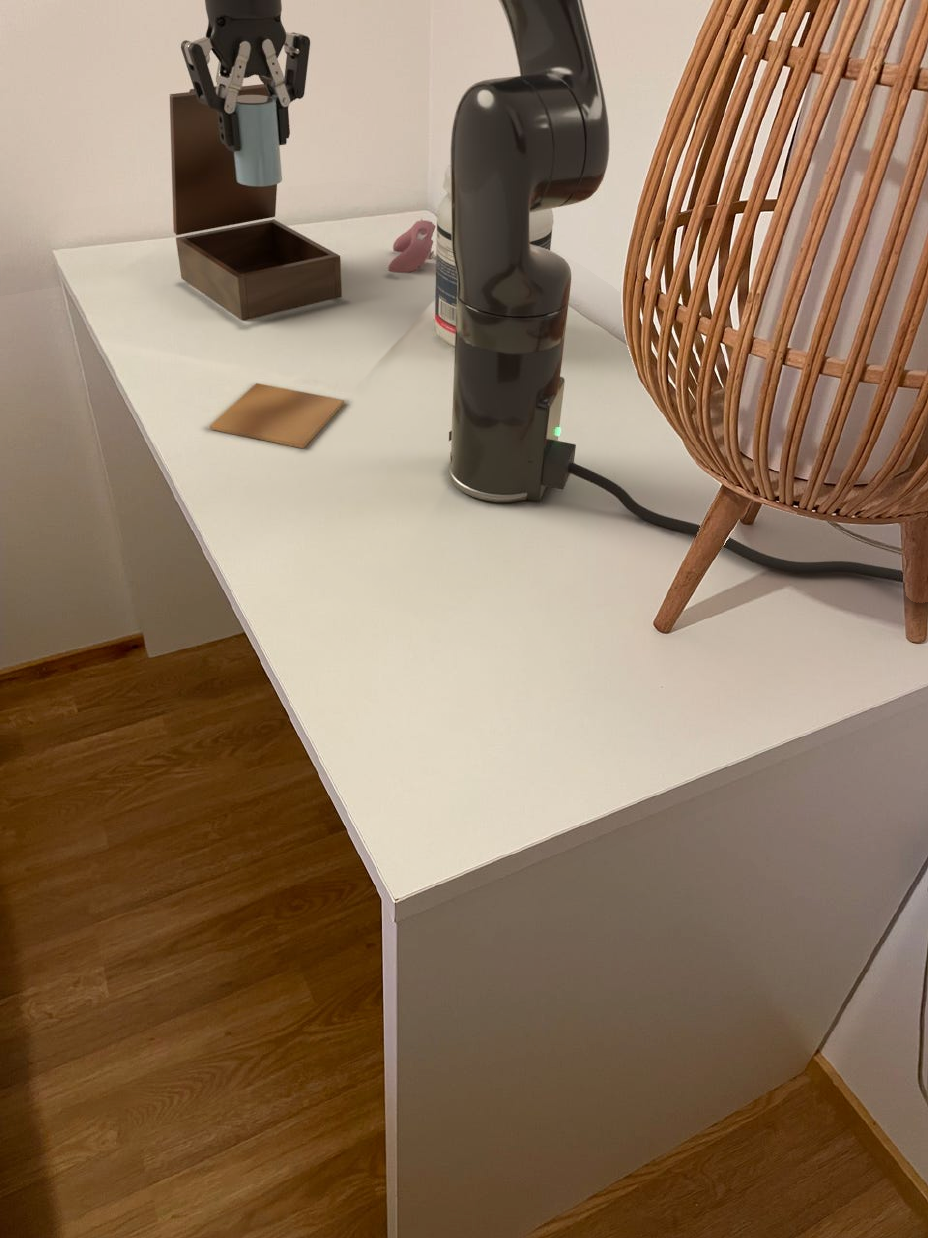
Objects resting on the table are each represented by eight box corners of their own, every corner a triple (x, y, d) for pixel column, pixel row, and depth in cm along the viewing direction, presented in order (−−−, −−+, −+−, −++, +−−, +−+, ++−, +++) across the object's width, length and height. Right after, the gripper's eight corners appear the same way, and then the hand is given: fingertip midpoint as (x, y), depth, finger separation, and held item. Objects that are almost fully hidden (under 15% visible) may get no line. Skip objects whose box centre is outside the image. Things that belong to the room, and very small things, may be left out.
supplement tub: (545, 319, 120) (561, 160, 108) (538, 364, 110) (555, 194, 98) (441, 310, 121) (446, 150, 109) (425, 353, 111) (429, 183, 99)
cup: (289, 176, 109) (284, 96, 104) (269, 188, 106) (262, 105, 101) (249, 171, 110) (241, 91, 105) (228, 182, 107) (219, 100, 102)
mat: (344, 403, 101) (344, 399, 101) (303, 448, 93) (303, 444, 93) (256, 386, 103) (256, 382, 103) (209, 429, 95) (209, 425, 95)
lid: (283, 84, 113) (261, 65, 115) (172, 97, 106) (152, 75, 108) (275, 216, 126) (256, 196, 128) (176, 235, 119) (157, 213, 121)
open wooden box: (342, 303, 121) (340, 255, 117) (242, 327, 114) (237, 277, 110) (277, 264, 130) (274, 218, 127) (182, 284, 123) (175, 237, 120)
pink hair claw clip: (416, 291, 129) (441, 244, 125) (385, 274, 128) (409, 226, 124) (419, 264, 137) (443, 219, 133) (390, 248, 135) (413, 202, 131)
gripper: (188, -35, 89) (212, 163, 100) (322, -40, 97) (331, 145, 107) (153, -44, 94) (180, 147, 105) (284, -48, 101) (296, 131, 112)
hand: (256, 145), depth 106 cm, fingers closed on cup, 5 cm apart
